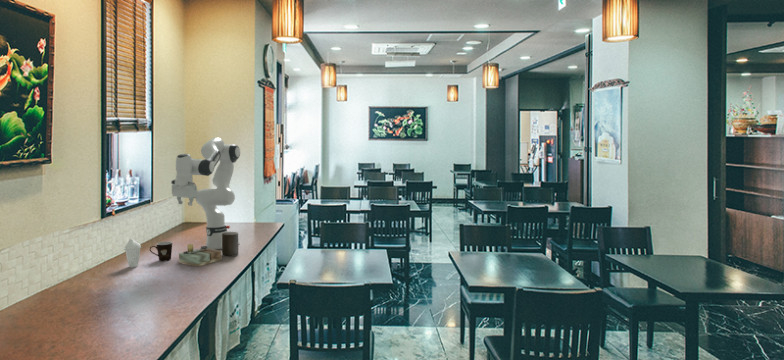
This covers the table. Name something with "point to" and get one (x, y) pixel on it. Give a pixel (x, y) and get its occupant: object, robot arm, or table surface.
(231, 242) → the pillar candle
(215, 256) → the door board
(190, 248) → the bar
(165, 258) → the coffee mug
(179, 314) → the table surface
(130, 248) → the soft serve ice cream cone
